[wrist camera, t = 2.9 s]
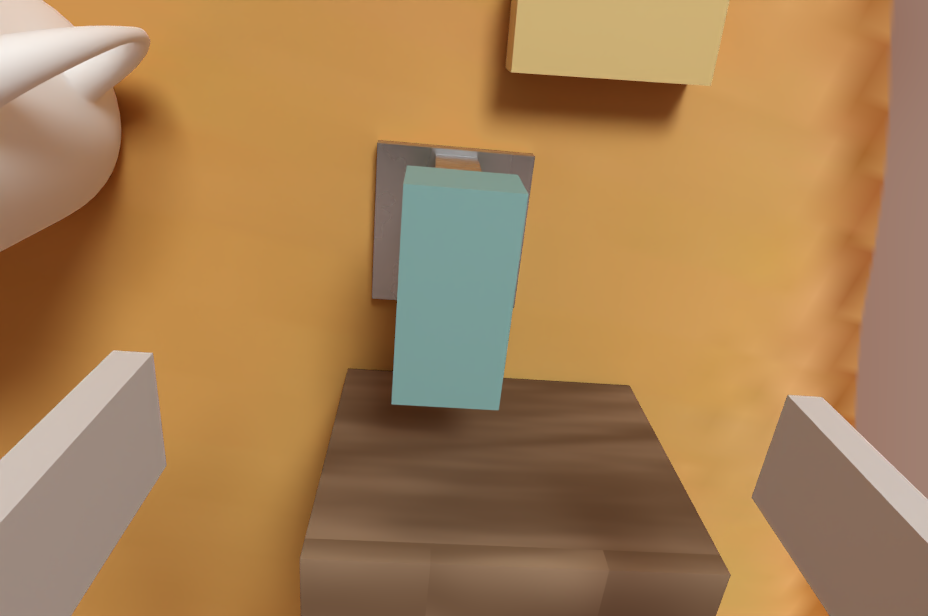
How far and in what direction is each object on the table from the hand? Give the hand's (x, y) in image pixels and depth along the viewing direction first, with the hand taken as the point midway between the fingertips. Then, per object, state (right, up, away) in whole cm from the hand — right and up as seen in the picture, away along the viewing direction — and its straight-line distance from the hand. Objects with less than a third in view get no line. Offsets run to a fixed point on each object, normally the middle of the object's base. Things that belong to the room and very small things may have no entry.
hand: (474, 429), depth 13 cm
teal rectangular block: (-1, +4, +7) cm, 8 cm away
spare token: (+5, +13, +10) cm, 17 cm away
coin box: (0, -8, +19) cm, 20 cm away
